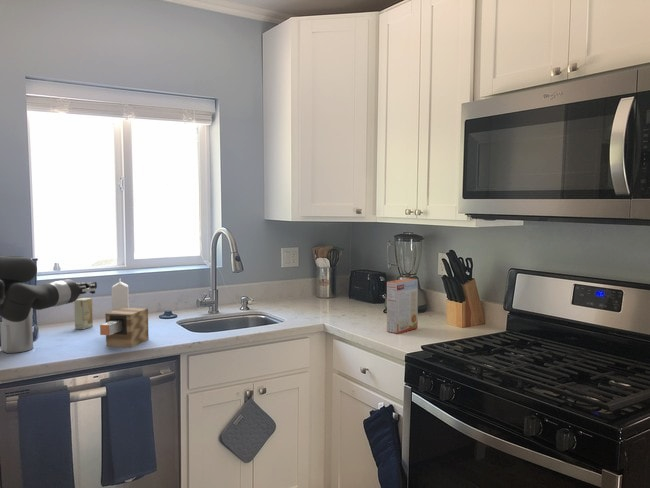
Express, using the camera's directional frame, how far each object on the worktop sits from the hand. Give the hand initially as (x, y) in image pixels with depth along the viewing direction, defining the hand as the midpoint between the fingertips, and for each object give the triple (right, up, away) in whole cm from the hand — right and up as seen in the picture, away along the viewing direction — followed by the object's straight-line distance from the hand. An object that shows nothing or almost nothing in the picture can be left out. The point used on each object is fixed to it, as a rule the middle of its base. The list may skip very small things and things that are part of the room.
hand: (94, 284), depth 182 cm
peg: (+2, -18, +12) cm, 21 cm away
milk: (-5, -22, +36) cm, 42 cm away
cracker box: (+109, -22, +41) cm, 119 cm away
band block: (+4, -23, +20) cm, 31 cm away
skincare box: (-23, -22, +45) cm, 55 cm away
